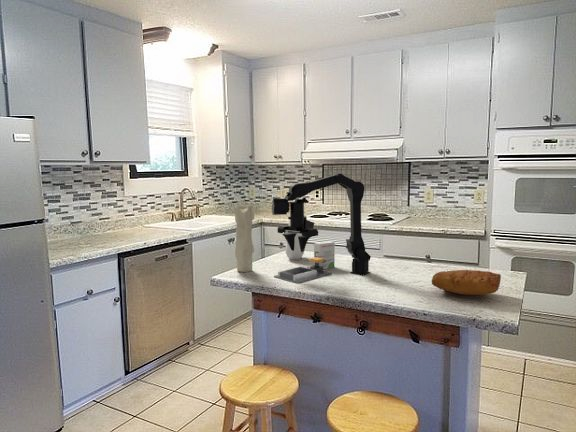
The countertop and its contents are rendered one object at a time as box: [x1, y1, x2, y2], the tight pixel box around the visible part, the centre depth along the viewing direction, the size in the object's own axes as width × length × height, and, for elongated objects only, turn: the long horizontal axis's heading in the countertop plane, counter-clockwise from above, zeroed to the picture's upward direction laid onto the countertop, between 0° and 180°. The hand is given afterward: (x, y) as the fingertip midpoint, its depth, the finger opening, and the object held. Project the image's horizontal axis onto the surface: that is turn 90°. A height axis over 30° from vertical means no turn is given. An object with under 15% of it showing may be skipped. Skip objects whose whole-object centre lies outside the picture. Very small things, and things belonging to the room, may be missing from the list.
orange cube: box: [309, 257, 324, 267], centre depth 184 cm, size 4×4×4 cm
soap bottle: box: [285, 204, 306, 261], centre depth 210 cm, size 13×10×29 cm
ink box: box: [313, 240, 336, 270], centre depth 191 cm, size 8×5×12 cm, turn 123°
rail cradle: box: [273, 265, 333, 284], centre depth 178 cm, size 14×21×3 cm, turn 134°
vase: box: [234, 203, 255, 273], centre depth 186 cm, size 9×8×30 cm
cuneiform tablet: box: [431, 269, 502, 296], centre depth 149 cm, size 22×17×8 cm
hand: (297, 251), depth 175 cm, fingers open, 5 cm apart
